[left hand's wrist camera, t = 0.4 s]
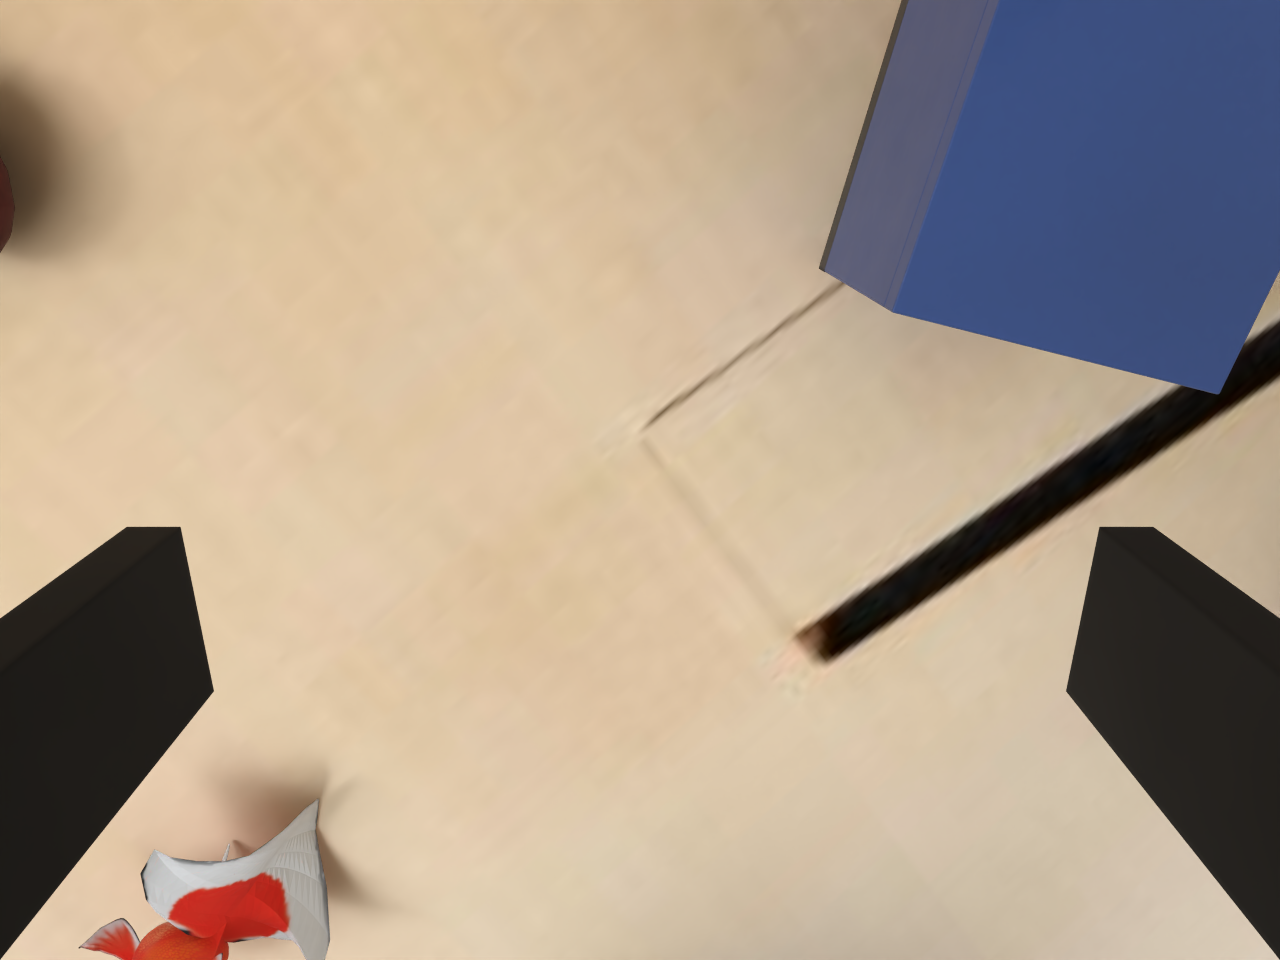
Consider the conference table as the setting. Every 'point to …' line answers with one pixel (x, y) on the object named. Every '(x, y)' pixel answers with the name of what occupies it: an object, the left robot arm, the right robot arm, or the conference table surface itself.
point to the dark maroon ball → (5, 206)
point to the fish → (231, 901)
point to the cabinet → (1074, 178)
